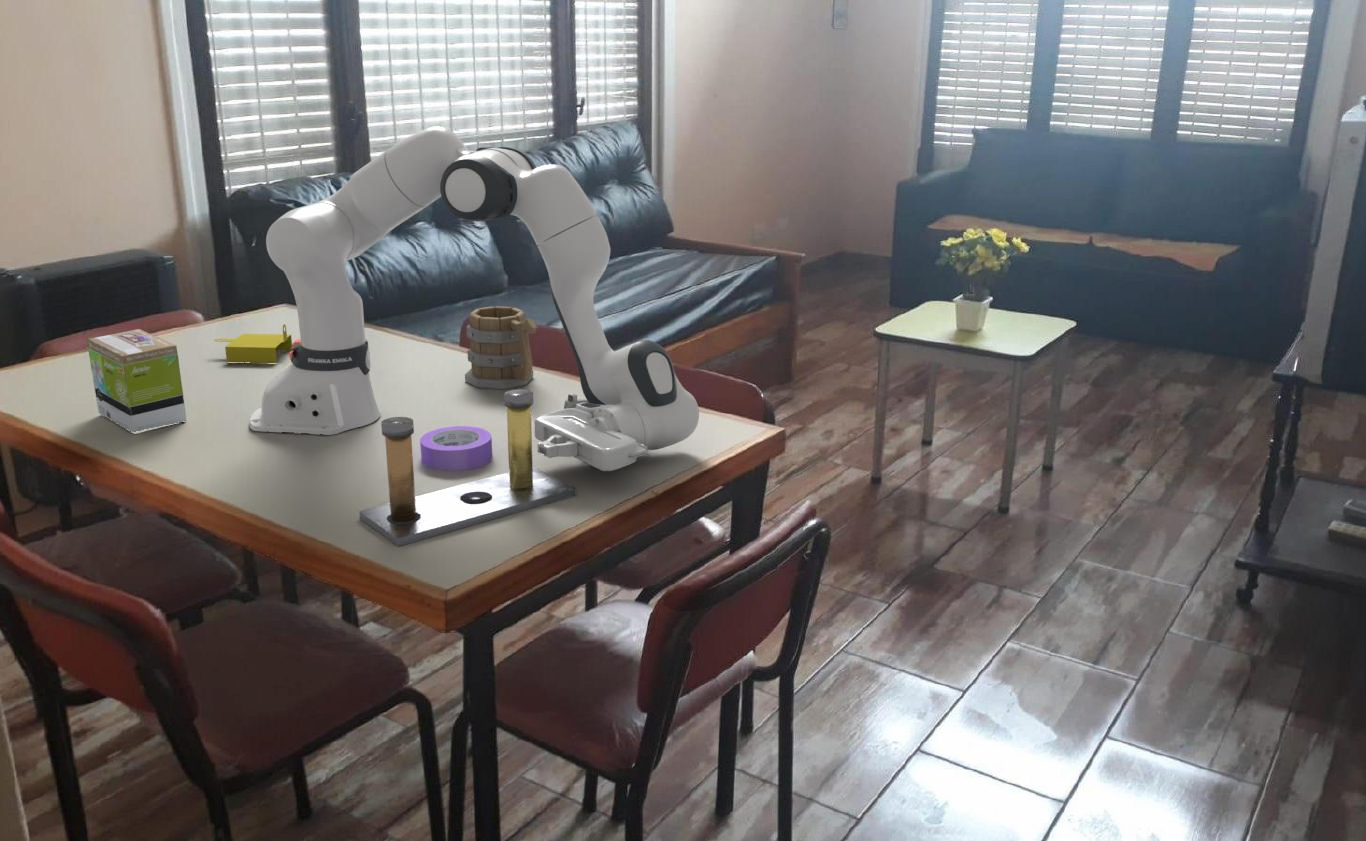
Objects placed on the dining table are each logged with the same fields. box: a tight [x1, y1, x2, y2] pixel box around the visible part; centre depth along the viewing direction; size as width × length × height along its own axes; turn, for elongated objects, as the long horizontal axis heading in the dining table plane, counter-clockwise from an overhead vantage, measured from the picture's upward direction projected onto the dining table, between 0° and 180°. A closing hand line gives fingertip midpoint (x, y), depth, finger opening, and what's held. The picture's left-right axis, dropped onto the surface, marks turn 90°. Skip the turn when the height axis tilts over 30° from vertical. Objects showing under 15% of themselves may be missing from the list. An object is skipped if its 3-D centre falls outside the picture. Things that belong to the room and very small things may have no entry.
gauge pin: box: [503, 389, 534, 488], centre depth 183 cm, size 4×4×15 cm
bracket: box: [214, 324, 293, 364], centre depth 253 cm, size 16×8×15 cm
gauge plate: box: [358, 465, 577, 547], centre depth 180 cm, size 30×12×1 cm, turn 130°
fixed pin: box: [380, 416, 416, 522], centre depth 171 cm, size 4×4×15 cm
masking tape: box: [419, 425, 493, 472], centre depth 199 cm, size 12×12×4 cm
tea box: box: [86, 328, 187, 432], centre depth 213 cm, size 15×10×15 cm, turn 47°
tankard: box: [464, 305, 538, 390], centre depth 236 cm, size 20×13×15 cm, turn 37°
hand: (542, 450), depth 186 cm, fingers closed
